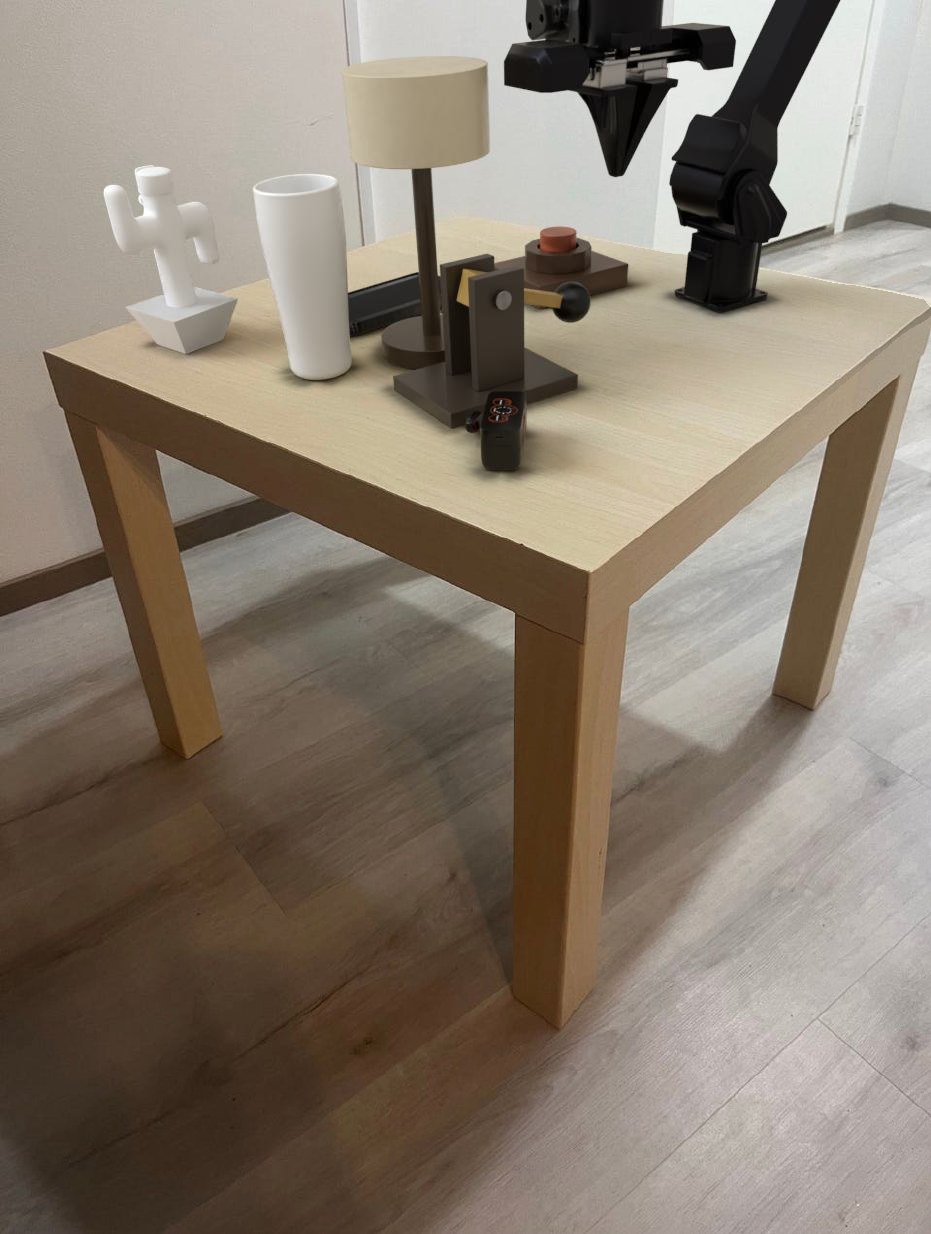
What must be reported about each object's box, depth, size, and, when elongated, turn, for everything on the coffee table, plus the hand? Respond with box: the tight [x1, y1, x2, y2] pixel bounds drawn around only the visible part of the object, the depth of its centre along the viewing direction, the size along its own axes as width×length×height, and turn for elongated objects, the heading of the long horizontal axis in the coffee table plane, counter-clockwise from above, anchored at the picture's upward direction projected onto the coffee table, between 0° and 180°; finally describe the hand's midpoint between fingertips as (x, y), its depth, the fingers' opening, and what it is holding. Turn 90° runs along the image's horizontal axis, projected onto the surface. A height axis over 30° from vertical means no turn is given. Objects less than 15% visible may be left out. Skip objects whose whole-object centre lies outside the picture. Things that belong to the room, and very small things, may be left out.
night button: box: [539, 226, 578, 252], centre depth 93 cm, size 4×4×2 cm
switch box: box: [494, 237, 629, 310], centre depth 95 cm, size 11×9×4 cm
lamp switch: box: [392, 253, 579, 429], centre depth 73 cm, size 12×9×10 cm
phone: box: [348, 271, 442, 337], centre depth 92 cm, size 8×1×15 cm
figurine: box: [103, 164, 239, 355], centre depth 83 cm, size 7×9×15 cm
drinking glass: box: [252, 173, 353, 381], centre depth 76 cm, size 7×7×15 cm
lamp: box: [341, 55, 491, 370], centre depth 77 cm, size 11×11×22 cm
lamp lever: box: [457, 269, 592, 324], centre depth 74 cm, size 12×3×3 cm, turn 122°
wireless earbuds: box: [464, 391, 528, 471], centre depth 67 cm, size 5×7×3 cm, turn 173°
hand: (616, 176), depth 78 cm, fingers closed
